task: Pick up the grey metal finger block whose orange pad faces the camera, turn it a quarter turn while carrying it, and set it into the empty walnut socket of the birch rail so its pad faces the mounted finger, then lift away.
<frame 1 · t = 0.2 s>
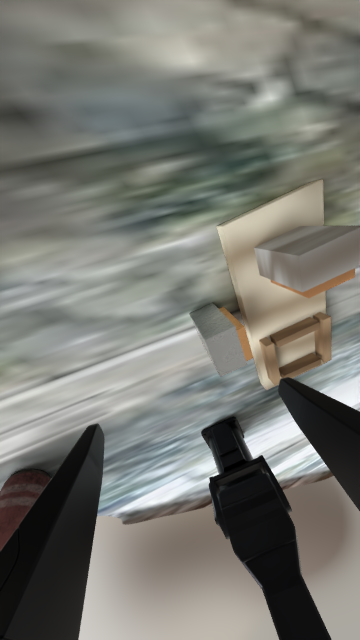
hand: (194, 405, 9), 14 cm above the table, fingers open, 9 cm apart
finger: (210, 323, 24), on the table
brown rounded cylinder: (30, 478, 30), on the table
rail: (279, 306, 24), on the table
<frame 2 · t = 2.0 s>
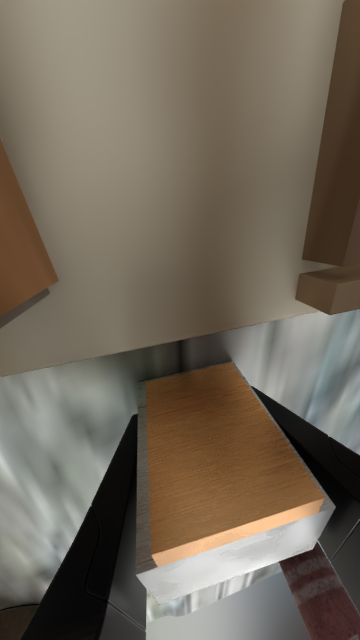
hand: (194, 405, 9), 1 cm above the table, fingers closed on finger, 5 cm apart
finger: (188, 386, 10), on the table, touching gripper
brown rounded cylinder: (293, 544, 27), on the table
rail: (219, 180, 6), on the table
plant pot: (16, 615, 20), on the table
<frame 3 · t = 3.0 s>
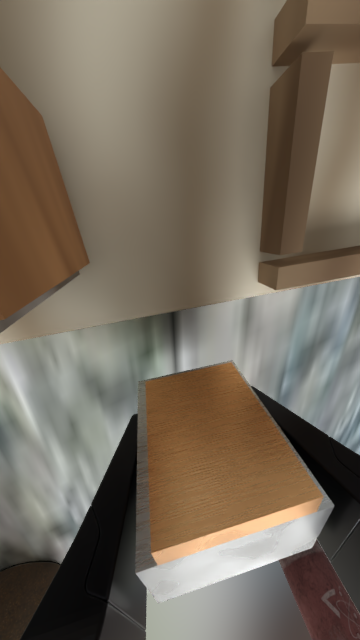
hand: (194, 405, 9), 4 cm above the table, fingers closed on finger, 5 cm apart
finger: (188, 386, 10), point 3 cm above the table, touching gripper
brown rounded cylinder: (281, 517, 30), on the table
rail: (199, 194, 9), on the table
plant pot: (31, 572, 22), on the table
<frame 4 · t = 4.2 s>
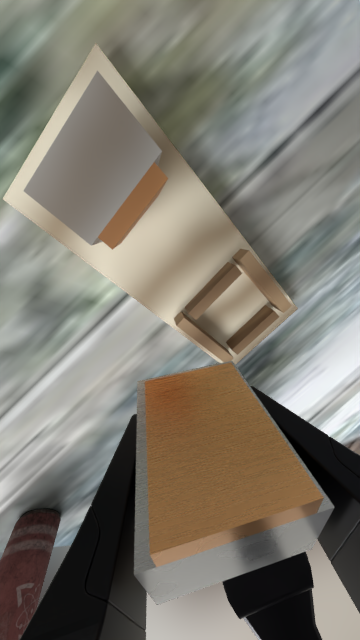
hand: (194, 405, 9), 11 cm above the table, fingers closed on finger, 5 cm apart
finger: (188, 386, 10), point 10 cm above the table, touching gripper
brown rounded cylinder: (40, 516, 31), on the table
rail: (183, 264, 18), on the table
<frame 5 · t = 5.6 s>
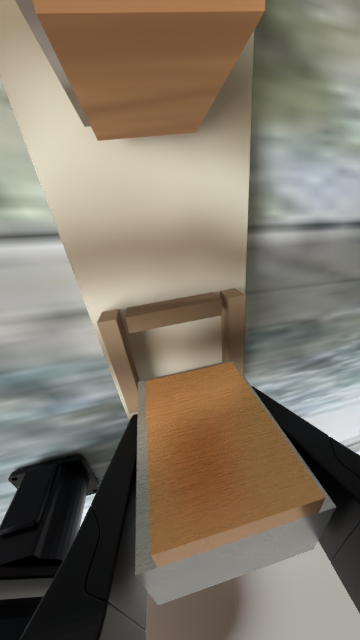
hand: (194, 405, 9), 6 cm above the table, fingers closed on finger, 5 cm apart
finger: (188, 386, 10), point 5 cm above the table, touching gripper
rail: (162, 257, 12), on the table
when the fingers open (4 cm above the table, at t = 6.5 s): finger drops 1 cm, resting on rail.
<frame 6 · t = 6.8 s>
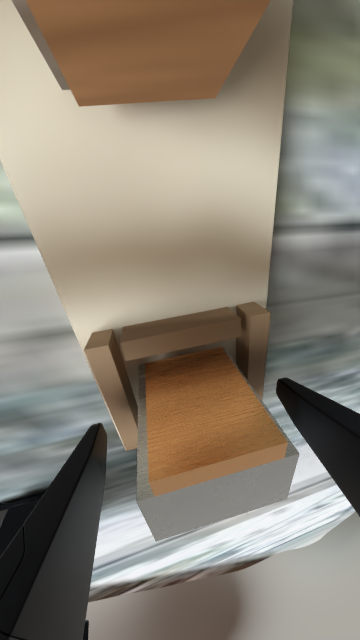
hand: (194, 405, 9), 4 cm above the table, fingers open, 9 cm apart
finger: (184, 370, 11), point 1 cm above the table, touching rail
rail: (166, 265, 10), on the table
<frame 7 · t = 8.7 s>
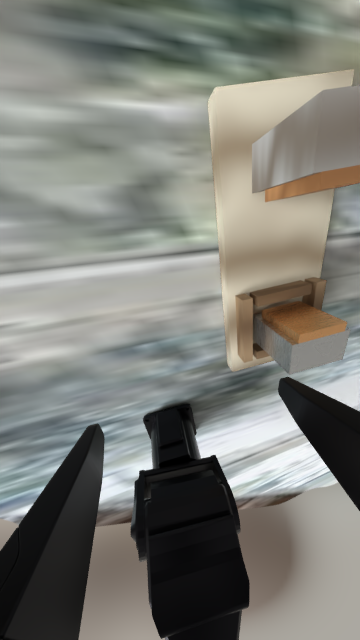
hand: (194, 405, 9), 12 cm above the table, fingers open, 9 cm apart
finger: (273, 318, 21), point 1 cm above the table, touching rail
rail: (267, 260, 19), on the table
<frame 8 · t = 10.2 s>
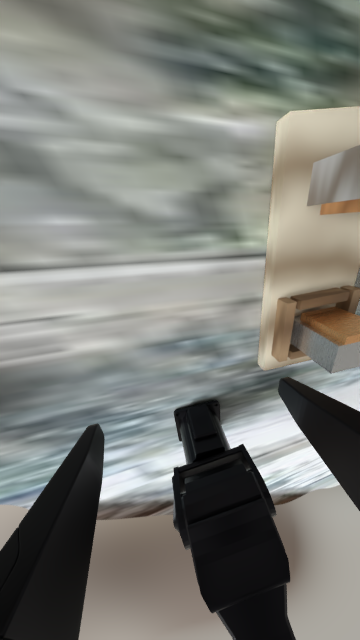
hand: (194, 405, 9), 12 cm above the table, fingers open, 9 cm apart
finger: (307, 321, 22), point 1 cm above the table, touching rail
rail: (307, 267, 21), on the table
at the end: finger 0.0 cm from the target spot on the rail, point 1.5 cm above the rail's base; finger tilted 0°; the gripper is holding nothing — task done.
